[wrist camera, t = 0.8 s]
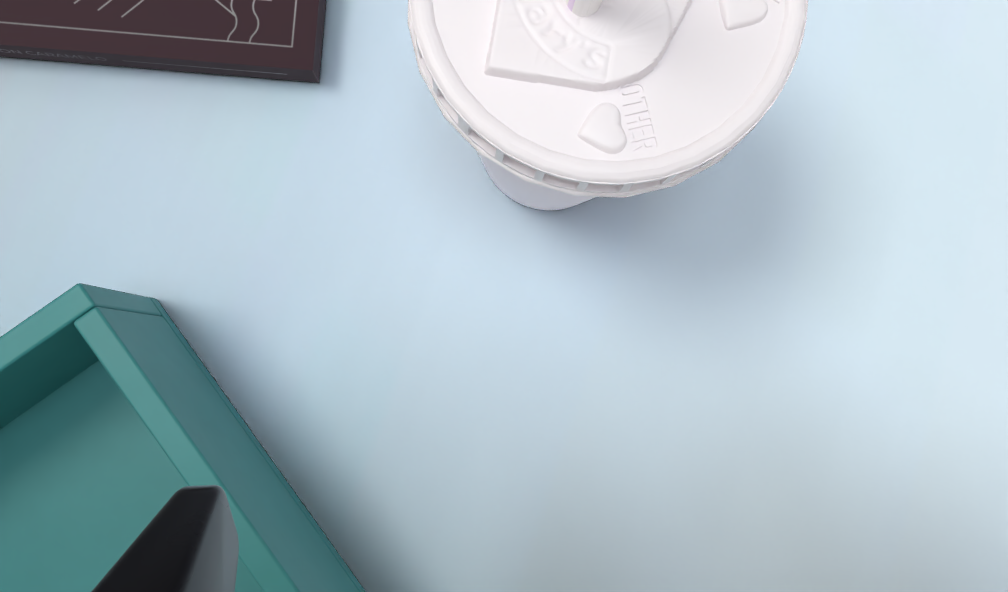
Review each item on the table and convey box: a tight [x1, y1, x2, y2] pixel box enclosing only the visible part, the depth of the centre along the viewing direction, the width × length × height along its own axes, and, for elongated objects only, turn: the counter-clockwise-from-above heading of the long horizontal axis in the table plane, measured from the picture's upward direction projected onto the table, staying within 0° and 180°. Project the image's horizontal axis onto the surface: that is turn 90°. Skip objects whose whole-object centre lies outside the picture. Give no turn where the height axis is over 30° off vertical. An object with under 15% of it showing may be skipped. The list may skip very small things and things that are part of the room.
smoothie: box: [408, 0, 808, 210], centre depth 16 cm, size 6×6×14 cm
